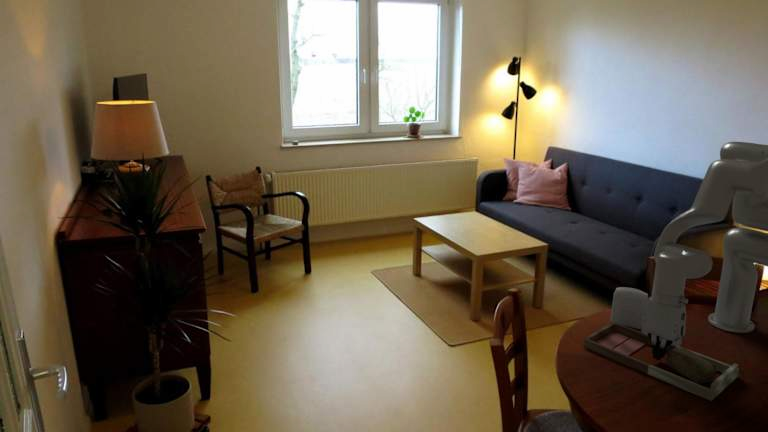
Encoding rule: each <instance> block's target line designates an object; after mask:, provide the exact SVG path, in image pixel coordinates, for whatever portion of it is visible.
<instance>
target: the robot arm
mask: <svg viewBox="0 0 768 432" xmlns="http://www.w3.org/2000/svg"><path fill="white" fill-rule="evenodd" d="M719 156H720V157H719V158H720V159H717V160H714V161H712V163H710V164H709V166H708V167H707V170H706V173H705V175H704V177H703V180H702V181H701V184H700V187H699V189H698V191H697V194H696V195H695V198H694V201H693V203H692V205H691V207H690V208H689V209H688V210H685V211H684V212H683V213H681V214H679V215H677V216H676V217H675V218H673V220H671V221H670V222H669V223H668V224H667V225H666V226H665V227H664V229H663V230H662V232H661V235H660V236H659V239H658V241H657V244H656V246H655V250H654V256H653V259H654V262H655V269H654V276H653V283H652V284H653V285H652V290H651V296H650V297H649V296H648V298H649V299H648V302H647V304H646V307H645V311H644V315H643V319H642V329H640V332H642V333H644V334H646V335H648V337H649V338H650V340H651V343H652V344H653V346H652V350H651V354H652V359H654V360H656V361H660V360H662V359H663V358H665V357H666V352H667V351H666V347H667V346H669V345H676V346H680V347H681V345H682V344H683V340H682V339H683V338H684V336H685V334H686V325H687V324H686V323H687V310H686V305H687V304H689V303H688V302H689V298H686V297H685V293H684V292H685V289H686V287H685V286H686V280H687V279H688V280H690V279H699V278H703V277H705V276H707V274H709V272H711V269H712V267H713V264H714V262H713V259H712V257H711V255H710V254H709V253H707V252H705V251H703V250H700V249H697V248H693V247H689V246H686V245H682V244H679V243H676V242H677V241H678V239H679V237H680V236H681V235H682V234H683V232H686V231H687V230H690V229H691V228H694V227H698V226H702V225H706V224H707V225H708V224H714V223H720V222H723V220H725V218H726V216H727V214H728V211H729V209H730V207H731V204H732V207H731V210H732V211H731V217H732V218H731V219H732V220H733V222H734V223H736V224H737V225H740V226H741V227H733V228H730V229H728V230H727V231H726V233H725V234H724V236H723V240H722V252H723V257H722V258H723V259H722V261H723V262H722V266H721V267H722V269H721V274H720V279H719V285H718V293H717V298H716V303H715V310H714V312H712V313H710V314H709V315H708V317H707V320H708V322H709V323H710V324H711V326H714V327H716V328H718V329H720V330H723V331H726V332H732V333H739V334H748V333H751V332H753V331H754V330H755V326H756V325H755V323H754V322H753V321H752V320H751V314H752V309H753V304H754V299H755V294H756V289H757V288H756V287H757V282H758V277H759V273H758V270H757V267H756V266H755V264H756V265H757V264H758V265H761V266H764V267H768V144H761V143H754V142H745V141H743V142H742V141H728V142H726V143H724V144H723V145H722V146H721V147H720V151H719ZM742 226H744V227H742ZM746 227H747V228H746ZM660 339H661V340H662V341H661V342H660Z"/></svg>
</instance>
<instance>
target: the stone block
mask: <svg viewBox="0 0 768 432" xmlns="http://www.w3.org/2000/svg"><path fill="white" fill-rule="evenodd" d="M689 350H690V349H688V348H685V347H683V348H676V349H672V350H669V352H667V356H666V358H665V364H666V365H667V366H668V367H669V368H671V369H672V370H674V371H675V372H677V373H678V374H680V375H682V376H684V377H685V378H687V380H689V381H692V382H694V383H697V384H699V385H703V384H709V383H710V384H711V383H712V382H714V381H715V380H716V377H717V376H716V375H717V374H716V373H717V371H716V368H715V366H714V365H713V364H712V363H710V362H708V361H707V360H705V359H703V358H702V357H700V356H698V355H696V354H694V353H693V352H691V351H692V350H691V351H689Z"/></svg>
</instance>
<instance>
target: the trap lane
mask: <svg viewBox="0 0 768 432" xmlns="http://www.w3.org/2000/svg"><path fill="white" fill-rule="evenodd" d="M599 339H600V340H599ZM661 341H662V338H660V342H661ZM583 342H584V343H583V348H584V349H588V350H589V349H590V351H592V352H594V353H597V354H599V355H601V356H604V357H606V358H608V359H611V360H613V361H615V362H618V363H619V364H620V363H621V364H623V365H625V366H626V367H630V368H632V369H635V370H637V371H639V372H642V373H644V374H646V375H648V376H650V377H653V378H655V379H657V380H658V379H659V381H663V382H664V383H668V384H670V385H672V386H674V387H677V388H679V389H682V390H684V391H686V392H689V393H692V394H693V395H696V396H699V397H701V398H703V399H704V400H705V399H706V400H708V401H710V402H712V401H713V400H714V399H715V398H716V397H717V396H718V395H719V394H721V393H722V392H723V391H724V390H725V389H726V388H727V387H728V386H729V385H730V384H732V383H733V382H734V381H735V380H736V379H737V378H738V376H739V371H740V367H739V364H738V363H734V362H733V364H728V363H726V362H723V361H720V360H718V359H715V358H712V357H710V356H707V355H704V354H703V353H698V352H696V351H693V350H690V349H688V350H689V351H691V352H693V353H694V354H696V355H698V356H700V357H702V358H703V359H705V360H707V361H708V362H710V363H712V364H713V365H714V366H715V368H716V372H720V373H721V374H720V375H719V376H718V377H717V378H715V380H714V381H712V382H710V387H707V386H703V384H697V383H695V382H693V381H691V380H690V379H688V378H687V379H686V378H684V377H682V376H679V375H676V374H675V373H672V372H670V371H667V370H665V369H662V368H659V367H658V366H654V365H652V364H650V363H648V362H645V361H644V360H643V361H642V360H640V359H639V358H638V359H637V358H635V357H633V356H631V355H632V354H634V353H636V352H637V351H639V350H640V349H642V348H643V347H644V346H646V345H650V346H652V347H653V344H652V343H651V340H650V338H649V337H648V335H646V334H644V333H643V332H642V331H641V330H638V329H637V330H636V329H635V328H632V327H628V326H624V325H621V324H618V323H615V322H614V323H612V322H610V323H609V324H607V325H604V326H603V327H601V328H600V329H597V330H596V331H594V332H592V333H591V334H589V335H588V336H587V335H586V337H584V341H583ZM676 348H684V347H683V346H681V345H680V346H676V345H669V346H667V347H666V352H667V353H668V352H669V350H672V349H676Z"/></svg>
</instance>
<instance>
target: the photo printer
mask: <svg viewBox="0 0 768 432" xmlns="http://www.w3.org/2000/svg"><path fill="white" fill-rule="evenodd" d="M648 299H649V294H648V293H647V292H644V291H642V290H640V289H638V288H633V287H625V286H621V287H616V288H615V291H614V292H613V297H612V305H611V313H610V323H614V322H615V323H618V324H621V325H623V326H626V327H629V328H631V329H637V330H641V329H642V319H643V315H644V311H645V307H646V304H647V302H648Z"/></svg>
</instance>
